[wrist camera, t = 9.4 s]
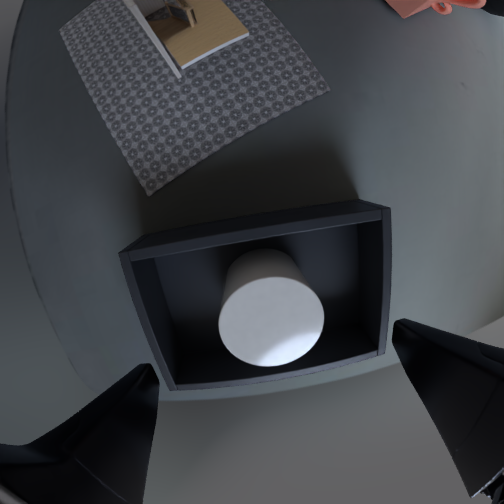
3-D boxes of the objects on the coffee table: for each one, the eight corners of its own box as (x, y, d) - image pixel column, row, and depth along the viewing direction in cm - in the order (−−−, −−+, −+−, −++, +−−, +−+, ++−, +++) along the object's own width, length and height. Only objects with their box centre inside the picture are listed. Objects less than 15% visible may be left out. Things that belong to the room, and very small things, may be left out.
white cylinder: (268, 335, 16) (276, 380, 12) (207, 293, 15) (197, 333, 11) (320, 280, 15) (344, 315, 11) (258, 230, 14) (265, 253, 10)
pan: (360, 199, 14) (390, 207, 11) (363, 324, 16) (385, 354, 13) (142, 235, 14) (117, 252, 11) (179, 355, 16) (169, 391, 13)
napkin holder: (187, -8, 10) (162, -86, 3) (246, 64, 12) (253, -22, 5) (136, 19, 10) (85, -48, 3) (189, 95, 12) (144, 28, 5)
